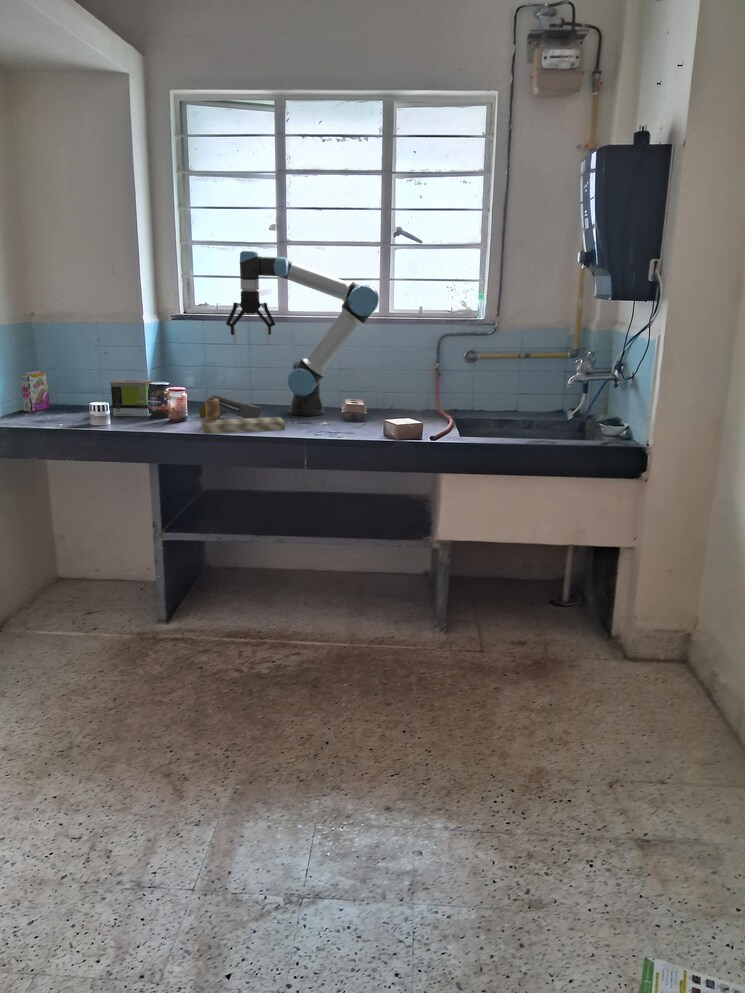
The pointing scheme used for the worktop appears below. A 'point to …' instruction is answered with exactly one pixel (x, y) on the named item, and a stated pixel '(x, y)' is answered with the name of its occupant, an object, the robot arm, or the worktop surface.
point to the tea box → (130, 397)
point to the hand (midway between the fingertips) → (251, 342)
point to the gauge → (212, 409)
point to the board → (242, 425)
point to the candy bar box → (34, 391)
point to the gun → (234, 408)
